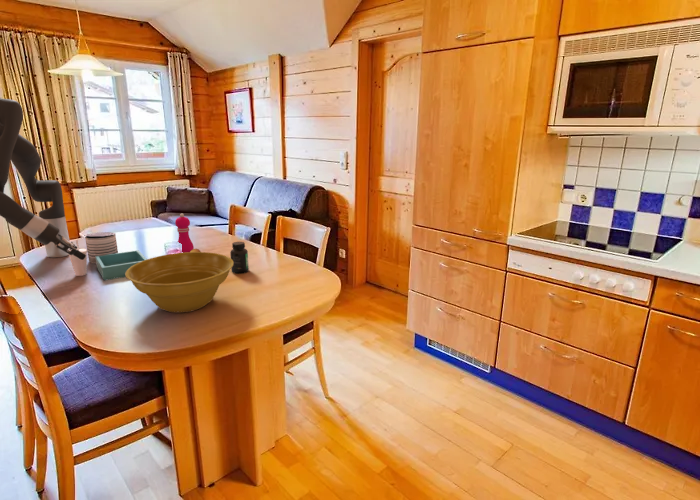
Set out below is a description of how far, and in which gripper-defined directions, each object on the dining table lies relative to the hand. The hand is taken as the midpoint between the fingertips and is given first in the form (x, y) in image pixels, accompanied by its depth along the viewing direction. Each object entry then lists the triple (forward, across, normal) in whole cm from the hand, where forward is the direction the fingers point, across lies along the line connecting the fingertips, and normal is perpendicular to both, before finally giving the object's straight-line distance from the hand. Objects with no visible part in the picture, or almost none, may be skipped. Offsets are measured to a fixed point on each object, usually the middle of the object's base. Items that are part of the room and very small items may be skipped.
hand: (83, 255), depth 161 cm
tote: (+14, -3, -4) cm, 15 cm away
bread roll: (+31, -20, -20) cm, 42 cm away
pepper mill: (+33, +1, -22) cm, 39 cm away
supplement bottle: (+41, -31, -30) cm, 60 cm away
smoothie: (+4, 0, +6) cm, 8 cm away
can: (+12, +17, 0) cm, 20 cm away
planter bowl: (+21, -52, -11) cm, 57 cm away
